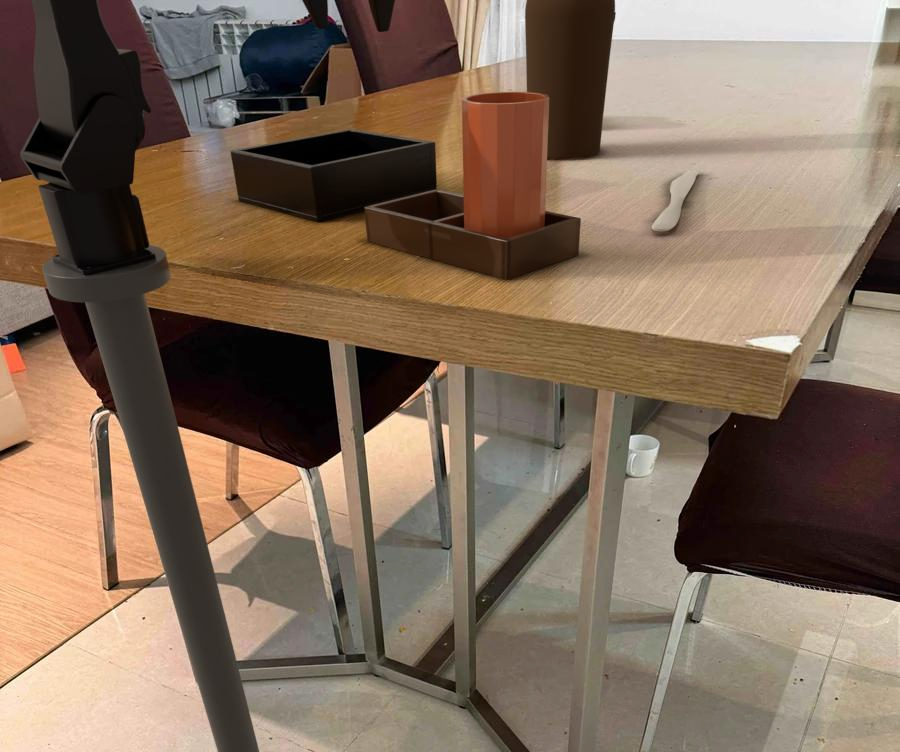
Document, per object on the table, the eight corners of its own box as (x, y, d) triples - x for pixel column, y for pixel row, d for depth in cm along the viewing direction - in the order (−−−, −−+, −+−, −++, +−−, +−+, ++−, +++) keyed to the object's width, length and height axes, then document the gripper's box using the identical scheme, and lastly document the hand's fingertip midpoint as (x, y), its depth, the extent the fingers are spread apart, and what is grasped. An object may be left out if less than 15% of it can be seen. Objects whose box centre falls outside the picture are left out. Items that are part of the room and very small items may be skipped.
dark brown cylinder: (558, 164, 103) (569, -100, 88) (506, 152, 110) (508, -94, 95) (621, 152, 108) (643, -101, 92) (567, 142, 115) (579, -95, 100)
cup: (505, 273, 69) (507, 106, 62) (448, 258, 73) (443, 99, 66) (559, 255, 73) (566, 95, 66) (502, 241, 77) (503, 89, 69)
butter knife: (640, 226, 77) (673, 226, 76) (678, 169, 97) (705, 169, 96) (640, 233, 77) (673, 232, 76) (678, 175, 97) (705, 174, 96)
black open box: (317, 222, 85) (310, 167, 81) (238, 201, 93) (229, 150, 90) (437, 192, 93) (435, 141, 90) (355, 175, 102) (351, 128, 99)
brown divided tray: (506, 280, 68) (506, 241, 66) (367, 241, 78) (363, 206, 76) (578, 254, 73) (581, 217, 71) (438, 221, 83) (437, 188, 81)
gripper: (481, -216, 66) (485, 24, 76) (339, -186, 77) (358, 19, 87) (371, -223, 60) (390, 37, 70) (234, -191, 71) (267, 30, 81)
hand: (351, 30), depth 77 cm, fingers open, 9 cm apart
